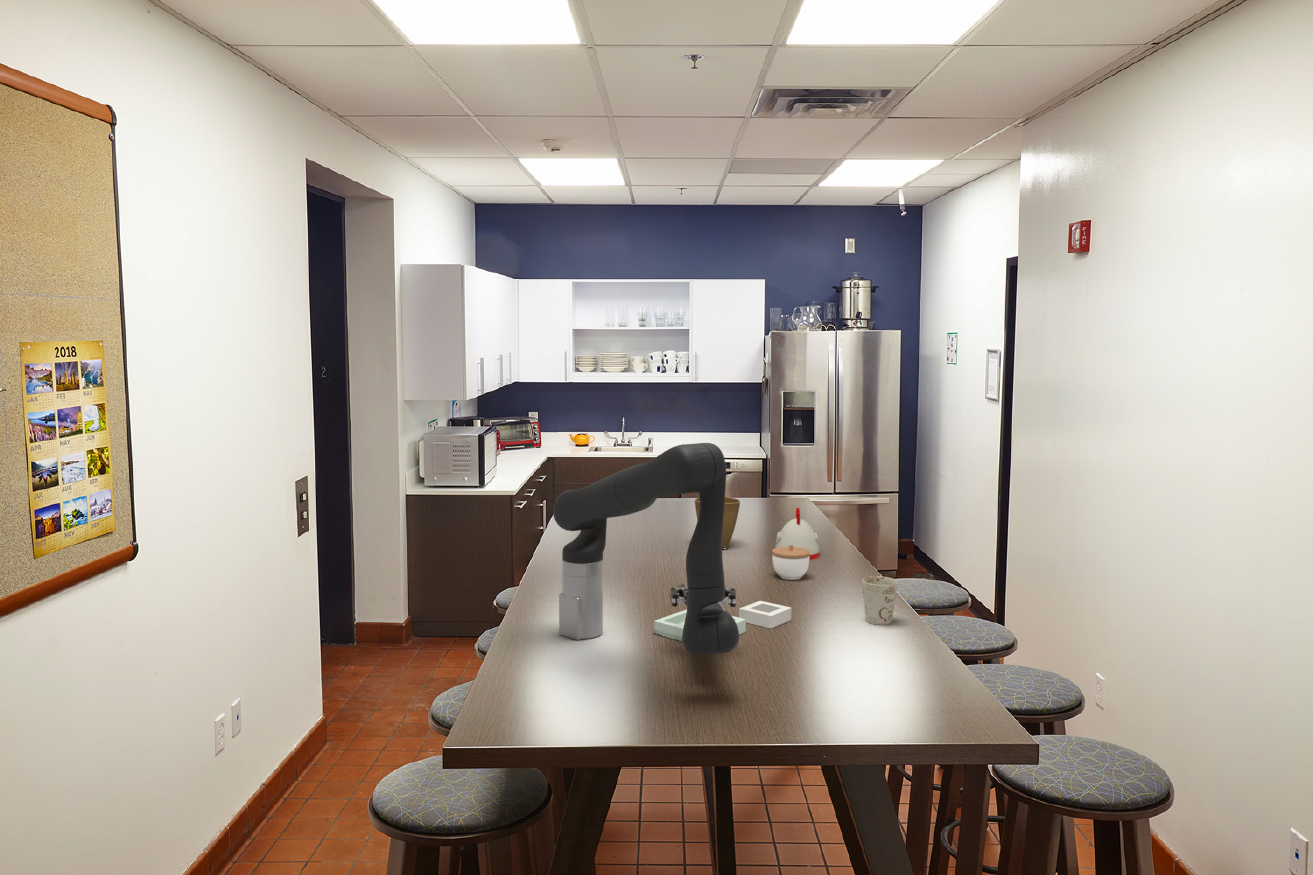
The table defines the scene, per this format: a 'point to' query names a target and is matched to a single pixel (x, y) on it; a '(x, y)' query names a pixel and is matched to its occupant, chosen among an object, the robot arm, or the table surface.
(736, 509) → the plant pot
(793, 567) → the lidded jar
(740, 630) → the tray
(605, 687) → the table surface
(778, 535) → the chicken shaped dome
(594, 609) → the robot arm
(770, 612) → the holder block
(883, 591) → the mug
